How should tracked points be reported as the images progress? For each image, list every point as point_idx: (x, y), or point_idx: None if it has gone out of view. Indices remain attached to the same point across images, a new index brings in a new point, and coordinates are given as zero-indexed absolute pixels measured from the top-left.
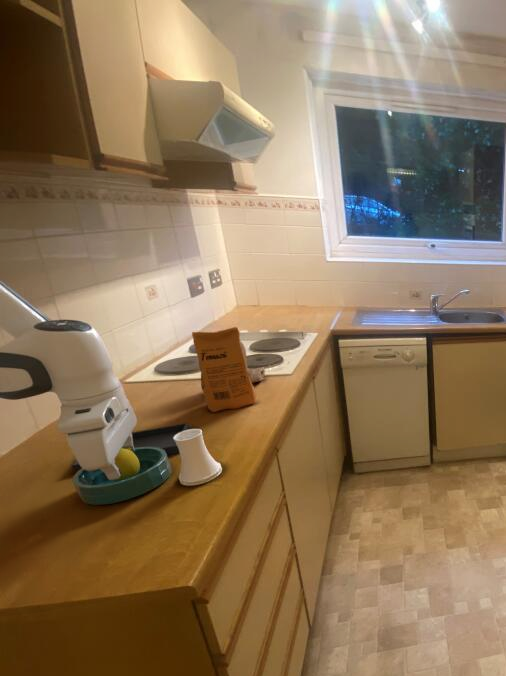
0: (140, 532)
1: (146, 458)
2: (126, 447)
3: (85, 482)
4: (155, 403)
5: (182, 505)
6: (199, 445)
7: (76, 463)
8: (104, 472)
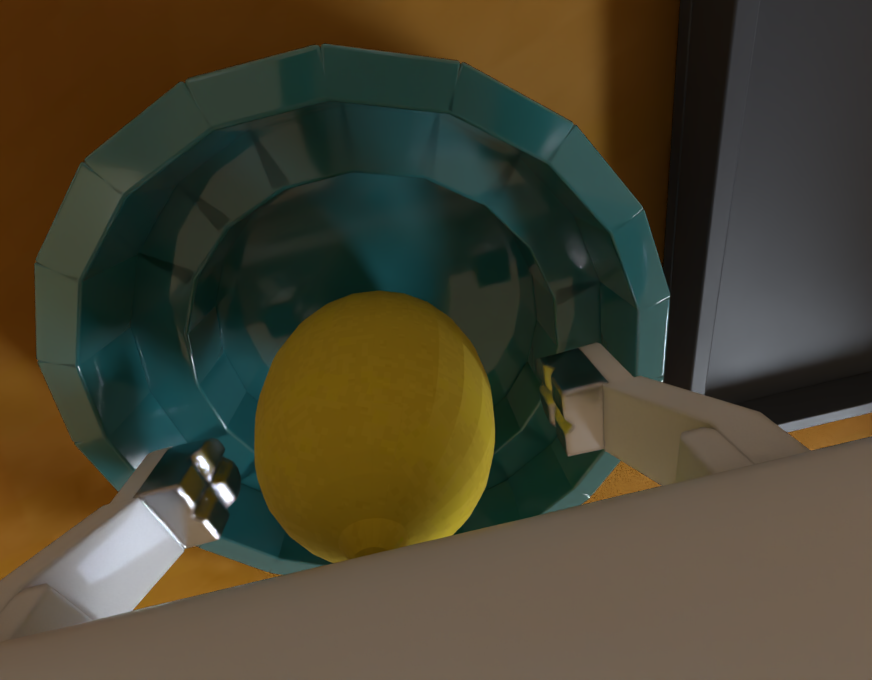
0: (3, 546)
1: None
2: (581, 425)
3: (291, 136)
4: None
5: (190, 585)
6: None
7: None
8: (87, 519)
